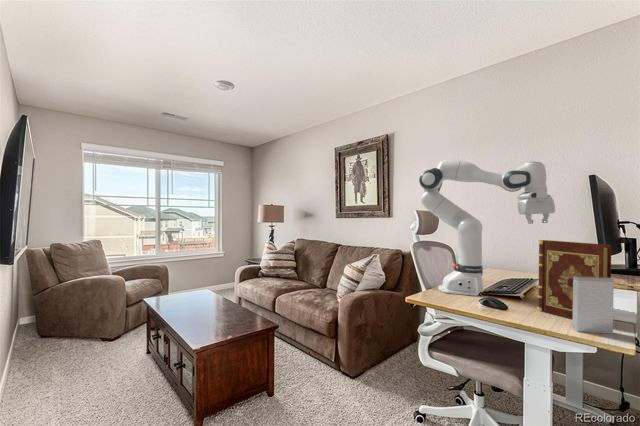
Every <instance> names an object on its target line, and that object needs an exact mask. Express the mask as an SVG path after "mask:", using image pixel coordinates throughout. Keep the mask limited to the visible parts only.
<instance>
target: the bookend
mask: <svg viewBox="0 0 640 426" xmlns="http://www.w3.org/2000/svg"><path fill="white" fill-rule="evenodd" d="M614 281H615V279H614V278H612V277H611V278H609V277H590V276H573V319H572V328H571V329H572V330H574V331H575V332H578V333H579V332H580V333H594V334H605V333H611V334H610V335H613V333H614V287H615V286H614V283H615V282H614Z"/></svg>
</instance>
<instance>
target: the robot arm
mask: <svg viewBox="0 0 640 426" xmlns="http://www.w3.org/2000/svg"><path fill="white" fill-rule="evenodd" d="M545 166H546V165H544V163H542V162H540V161H527V162H525V163H524V164H523V165H521V166H519V167H516V168H514V169H513V170H509V171H508V172H506V173H497V172H492V171H488V170H487V171H486V170H485V169H482V168H480V167H479V166H477V165H476V164H475V163H471V162H468V161H464V160H459V159H458V160H457V159H443V160H441V161H440V162H439V163H438V165H437V166H436V167H433V168H431V169H427V170H425V171H423V172H421V174H420V175H419V178H418V183H419V185H420V186H421V188H423V190H424V192H423V194H422V195H421V198H420V202H421V204H422V206H424V208H426V209H427V210H428V211H429V212H430V213H431V214H433V215H434V216H435V217H437V218H438V219H439V220H441V221H442V222H444V223H445V224H447V225H448V226H450V227H451V228H453V229H454V230H456V231H457V242H458V243H457V244H458V247H457V248H458V258H457V259H458V263H451V267H452V268H454V270H453V271H452V272H450V273H448V274H447V275H446V276H444V277H443V280H442V284H439V285H438V286H437V289H438V290H439V291H440V292H442V293H446V294H453V295H463V296H464V295H465V296H473V297H477V296H480V295H479V293H480V292H483V291H485V289H484V284H483V275H484V274H483V273H484V269H483V267H484V266H483V263H482V261H483V259H482V258H483V256H482V255H483V250H482V249H483V248H482V247H483V244H482V243H483V241H482V239H483V237H482V235H483V234H482V233H483V224H482V222H481V220H479V219H478V218H476V217H475V216H473V215H472V214H471V213H469V212H468V211H466V210H464V209H463V208H461V207H460V206H459V205H457V204H455V203H454V202H452V200H449V199H448V198H447V197H445V196H444V195H443V194H442V193H440V190H441V188H442V186H443V182H444V181H446V180H447V181H449V180H450V181H454V182H460V183H461V182H462V183H483V184H489V185H492V186H493V185H495V186H498V187H500V188H502V189H503V190H506V191H507V192H511V193H514V192H518V191H520V190H521V189H524V192H522V193H519V194H518V195H517V196H516V197H517V200H518V201H517V211H518V213H519V214H520V215H524V216H525V218H526V220H527V224H528V225H533V224H534V219H532V217H533V216H532V215H540V214H541V215H542V219H541V224H547V223H548V221H549V217H550V214H555V212H556V204H555V201H554V199H553V196H552V195H550V194H548V186H547V179H548V178H547V170H546V167H545Z"/></svg>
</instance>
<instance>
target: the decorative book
mask: <svg viewBox="0 0 640 426" xmlns="http://www.w3.org/2000/svg"><path fill="white" fill-rule="evenodd" d="M537 244H538V253H537V256H538V263H537V266H538V284H537V288H538V289H537V290H538V293H537V295H536V297H537V298H538V299H537V300H538V301H537V303H538V305H537V306H536V307H537V308H536V309H537V311H539V312H544V313H547V314H551V315H555V316H558V317H563V318H566V319H570V320H573V276H590V277H609V278H612V245H611V244H604V243H603V244H602V243H591V242H589V243H587V242H576V241H575V242H574V241H562V240H551V239H540V240H538V241H537Z"/></svg>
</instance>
